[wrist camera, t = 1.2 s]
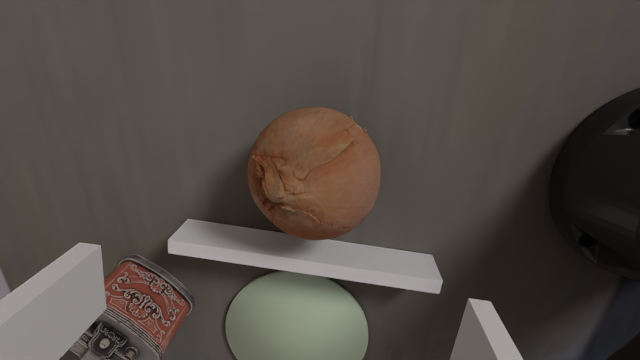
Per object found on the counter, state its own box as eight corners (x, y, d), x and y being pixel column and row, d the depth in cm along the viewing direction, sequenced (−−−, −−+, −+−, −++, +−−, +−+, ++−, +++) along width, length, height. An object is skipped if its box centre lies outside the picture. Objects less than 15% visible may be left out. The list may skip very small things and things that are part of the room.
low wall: (432, 254, 33) (442, 281, 29) (429, 266, 34) (439, 293, 30) (188, 218, 34) (167, 240, 30) (188, 230, 34) (168, 253, 30)
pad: (380, 282, 34) (380, 285, 34) (356, 395, 39) (356, 399, 39) (230, 259, 35) (228, 262, 34) (224, 374, 40) (222, 378, 39)
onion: (280, 152, 34) (193, 178, 26) (345, 76, 29) (263, 78, 21) (346, 235, 33) (275, 290, 24) (426, 169, 28) (372, 212, 19)
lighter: (115, 269, 36) (33, 346, 27) (133, 246, 35) (55, 318, 26) (183, 317, 38) (127, 407, 28) (202, 297, 37) (151, 383, 27)
